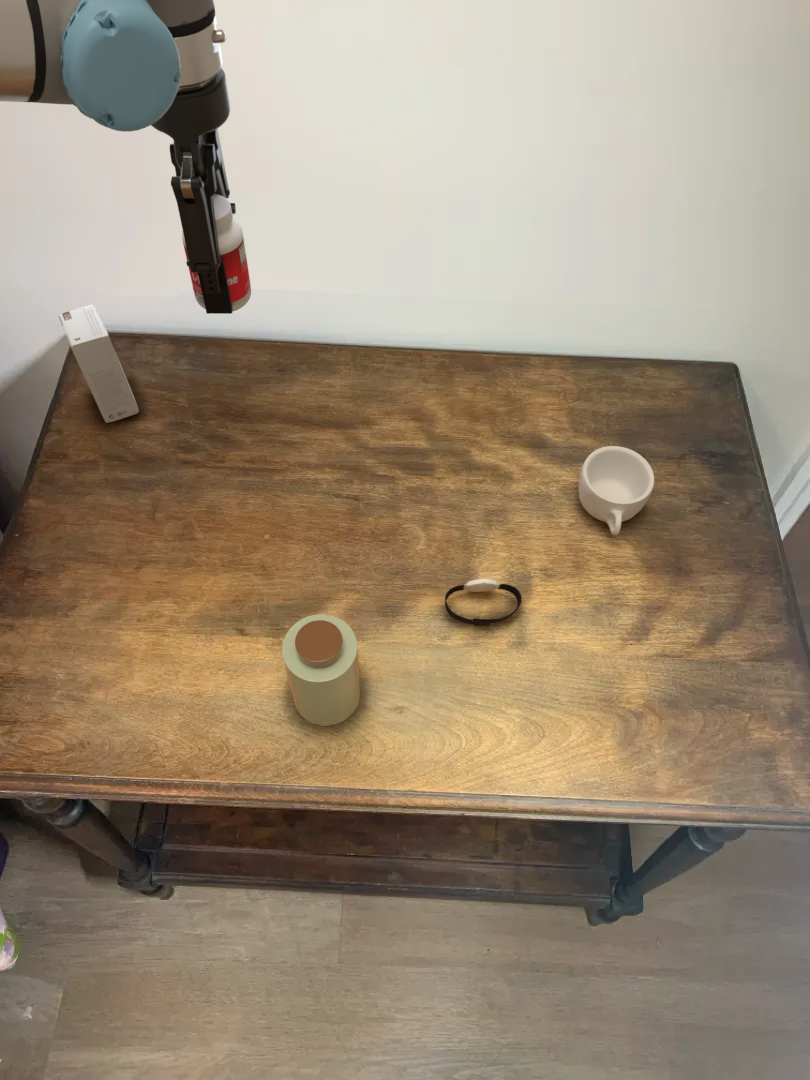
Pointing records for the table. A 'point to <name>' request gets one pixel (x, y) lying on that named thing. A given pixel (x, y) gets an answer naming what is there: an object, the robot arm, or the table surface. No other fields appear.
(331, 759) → the table surface
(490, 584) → the watch
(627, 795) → the table surface
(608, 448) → the teacup
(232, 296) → the pill bottle
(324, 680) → the canister
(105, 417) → the cosmetic box
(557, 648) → the table surface
